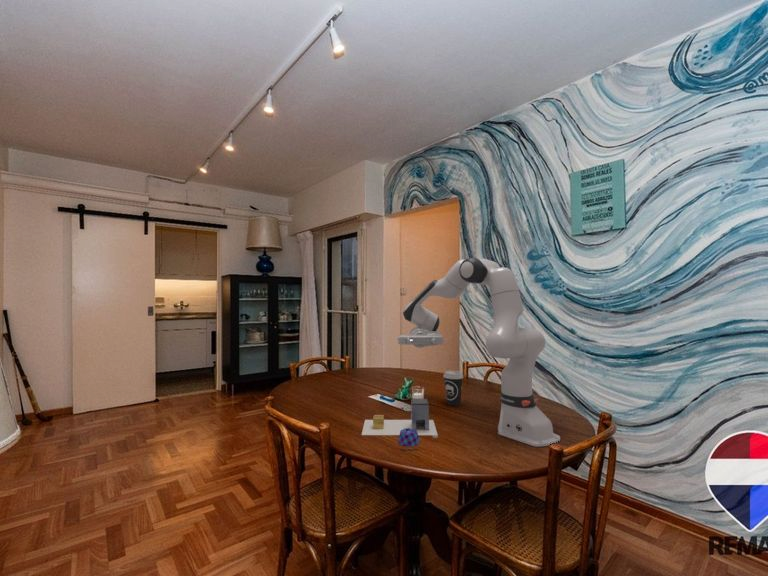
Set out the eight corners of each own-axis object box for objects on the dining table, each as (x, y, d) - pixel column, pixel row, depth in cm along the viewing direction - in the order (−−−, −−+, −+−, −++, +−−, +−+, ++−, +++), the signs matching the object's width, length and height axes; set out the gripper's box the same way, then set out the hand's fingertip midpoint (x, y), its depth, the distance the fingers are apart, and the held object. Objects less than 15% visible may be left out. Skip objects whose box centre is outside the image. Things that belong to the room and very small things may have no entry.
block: (373, 425, 142) (373, 414, 142) (383, 425, 142) (383, 414, 142) (373, 428, 138) (373, 418, 138) (383, 428, 138) (383, 418, 138)
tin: (411, 424, 143) (411, 398, 143) (427, 424, 143) (427, 398, 143) (412, 430, 136) (411, 403, 137) (429, 430, 136) (428, 403, 136)
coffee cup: (465, 407, 166) (465, 374, 167) (445, 407, 167) (444, 374, 167) (461, 401, 176) (461, 370, 176) (442, 401, 176) (441, 370, 176)
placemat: (433, 422, 147) (433, 419, 147) (437, 437, 131) (437, 435, 131) (365, 422, 148) (365, 419, 148) (361, 437, 132) (361, 434, 132)
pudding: (397, 437, 133) (397, 423, 133) (429, 441, 129) (429, 426, 129) (387, 450, 122) (386, 435, 122) (421, 455, 118) (421, 439, 118)
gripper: (397, 331, 170) (397, 334, 156) (440, 331, 169) (445, 334, 155) (397, 344, 169) (397, 349, 156) (441, 344, 169) (445, 349, 155)
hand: (421, 341), depth 155 cm, fingers open, 8 cm apart
